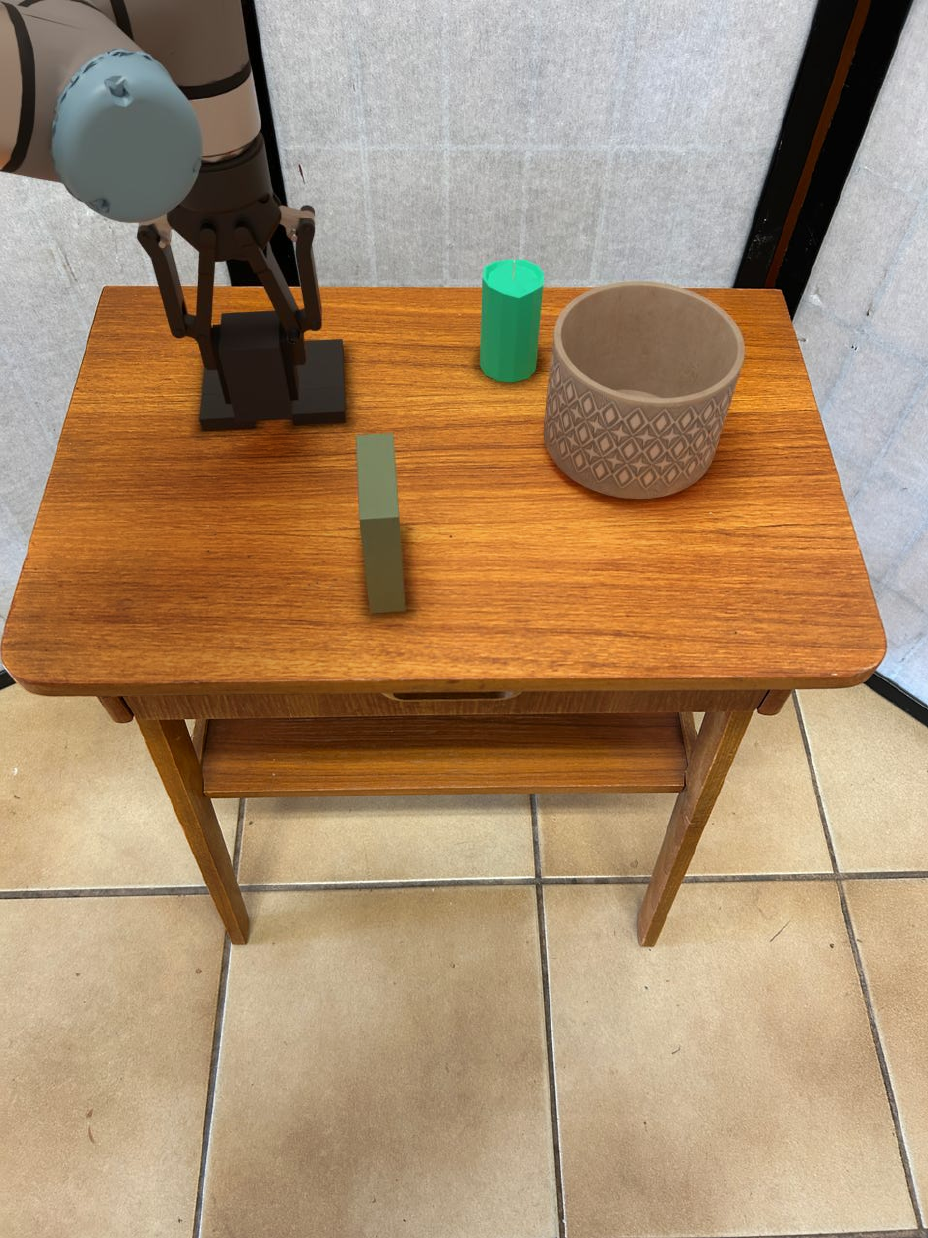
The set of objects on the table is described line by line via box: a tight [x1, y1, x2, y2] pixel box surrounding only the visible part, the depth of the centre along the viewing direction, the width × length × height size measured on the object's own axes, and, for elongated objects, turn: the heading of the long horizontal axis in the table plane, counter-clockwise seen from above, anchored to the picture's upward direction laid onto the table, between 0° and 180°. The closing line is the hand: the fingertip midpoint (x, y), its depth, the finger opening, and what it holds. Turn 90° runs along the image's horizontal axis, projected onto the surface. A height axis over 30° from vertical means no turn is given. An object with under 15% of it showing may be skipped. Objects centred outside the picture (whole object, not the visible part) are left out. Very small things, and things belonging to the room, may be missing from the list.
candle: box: [479, 258, 545, 383], centre depth 94 cm, size 6×6×12 cm
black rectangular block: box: [218, 309, 292, 422], centre depth 84 cm, size 5×8×8 cm, turn 5°
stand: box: [355, 432, 407, 615], centre depth 78 cm, size 3×9×12 cm, turn 5°
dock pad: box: [198, 338, 347, 431], centre depth 96 cm, size 14×11×2 cm
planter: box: [542, 280, 746, 500], centre depth 87 cm, size 16×16×13 cm
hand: (262, 391), depth 86 cm, fingers closed on black rectangular block, 5 cm apart
